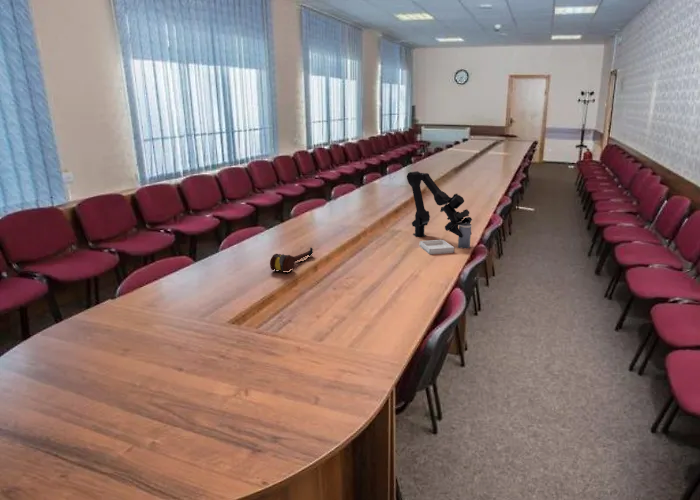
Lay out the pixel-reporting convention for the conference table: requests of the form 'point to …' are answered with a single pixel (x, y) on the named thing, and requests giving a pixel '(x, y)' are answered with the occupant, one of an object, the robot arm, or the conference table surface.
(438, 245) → the tray
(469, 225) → the canister
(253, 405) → the conference table surface
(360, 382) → the conference table surface
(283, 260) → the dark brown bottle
